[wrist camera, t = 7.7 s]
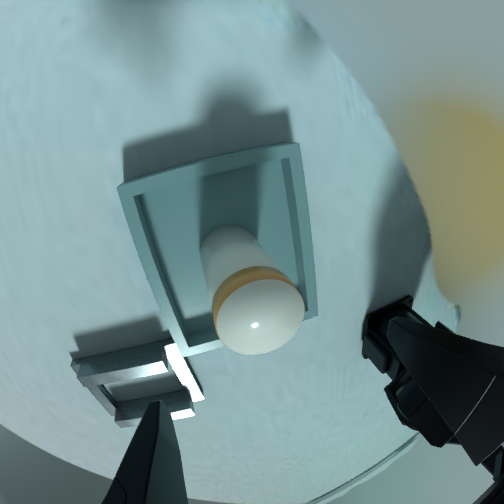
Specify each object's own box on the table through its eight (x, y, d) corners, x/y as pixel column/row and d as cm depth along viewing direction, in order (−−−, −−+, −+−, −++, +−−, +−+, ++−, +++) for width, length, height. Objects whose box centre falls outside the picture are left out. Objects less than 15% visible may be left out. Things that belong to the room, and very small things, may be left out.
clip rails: (175, 337, 21) (176, 357, 19) (203, 393, 25) (207, 412, 22) (72, 359, 20) (66, 379, 17) (112, 410, 23) (110, 428, 21)
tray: (285, 142, 18) (299, 142, 16) (306, 301, 23) (317, 315, 21) (123, 182, 16) (116, 187, 14) (180, 339, 22) (181, 357, 20)
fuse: (252, 216, 19) (301, 267, 11) (262, 270, 20) (308, 338, 13) (191, 232, 18) (204, 296, 11) (207, 285, 20) (227, 365, 13)
